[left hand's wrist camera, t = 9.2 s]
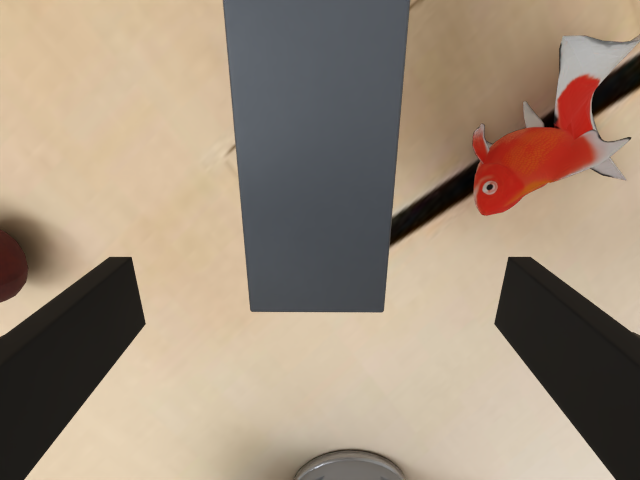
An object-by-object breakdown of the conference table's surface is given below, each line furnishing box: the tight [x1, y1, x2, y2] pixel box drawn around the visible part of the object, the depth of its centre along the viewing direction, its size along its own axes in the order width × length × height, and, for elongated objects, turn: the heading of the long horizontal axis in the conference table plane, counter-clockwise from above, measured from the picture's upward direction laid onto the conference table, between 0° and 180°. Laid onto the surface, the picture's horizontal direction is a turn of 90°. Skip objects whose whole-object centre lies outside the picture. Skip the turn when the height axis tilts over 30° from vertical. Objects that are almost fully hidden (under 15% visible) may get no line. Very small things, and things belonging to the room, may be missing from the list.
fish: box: [472, 35, 640, 216], centre depth 26 cm, size 11×16×10 cm
